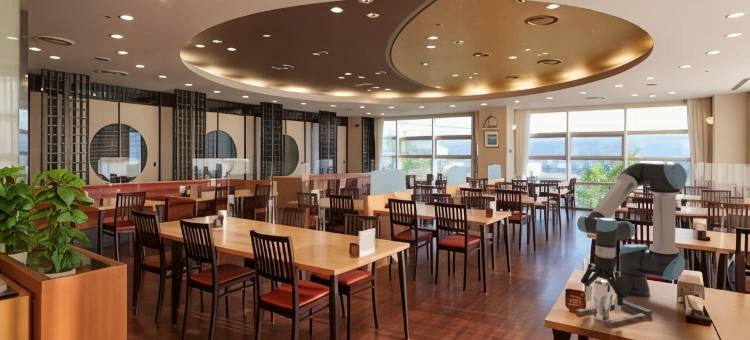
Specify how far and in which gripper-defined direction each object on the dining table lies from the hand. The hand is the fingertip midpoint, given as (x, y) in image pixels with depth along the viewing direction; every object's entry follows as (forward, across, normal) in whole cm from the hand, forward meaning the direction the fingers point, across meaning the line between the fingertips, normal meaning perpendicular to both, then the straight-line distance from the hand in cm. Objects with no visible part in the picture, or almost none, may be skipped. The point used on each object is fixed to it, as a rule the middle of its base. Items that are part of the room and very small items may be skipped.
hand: (602, 306), depth 180 cm
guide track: (+5, 0, +7) cm, 9 cm away
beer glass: (+5, 0, 0) cm, 5 cm away
